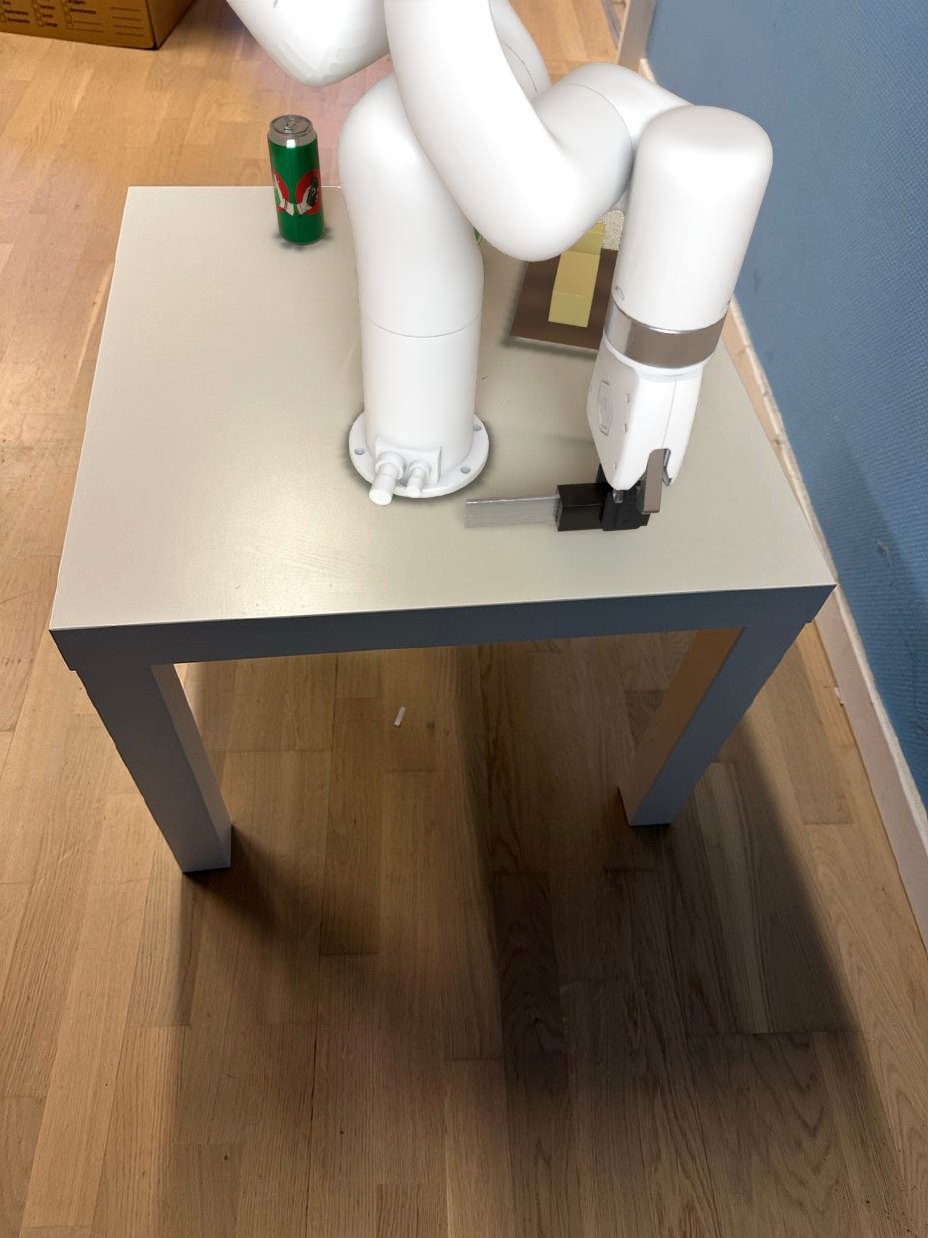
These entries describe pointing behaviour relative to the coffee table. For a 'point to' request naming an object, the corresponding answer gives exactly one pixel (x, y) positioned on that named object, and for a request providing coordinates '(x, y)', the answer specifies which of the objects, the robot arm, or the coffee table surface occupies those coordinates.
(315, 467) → the coffee table surface
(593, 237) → the butter pat
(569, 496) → the knife
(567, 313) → the butter block
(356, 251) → the robot arm
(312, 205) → the soda can
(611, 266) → the board
